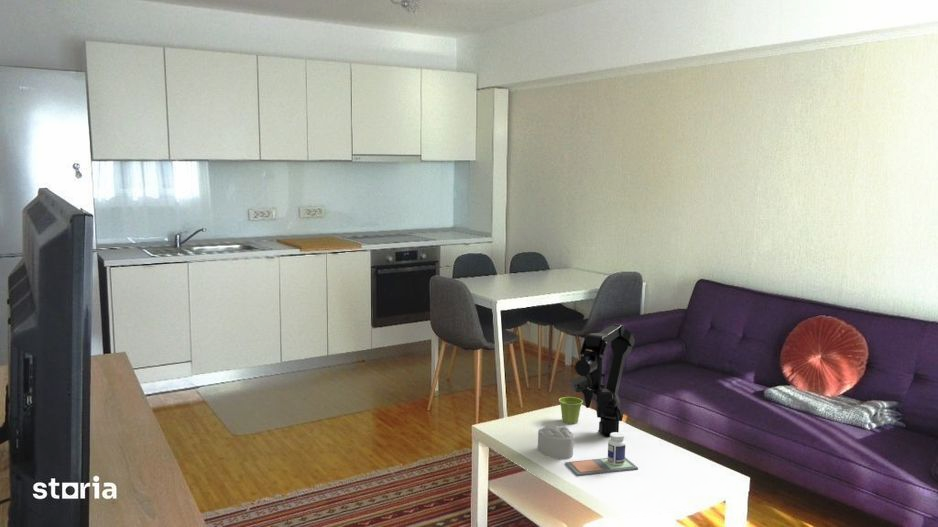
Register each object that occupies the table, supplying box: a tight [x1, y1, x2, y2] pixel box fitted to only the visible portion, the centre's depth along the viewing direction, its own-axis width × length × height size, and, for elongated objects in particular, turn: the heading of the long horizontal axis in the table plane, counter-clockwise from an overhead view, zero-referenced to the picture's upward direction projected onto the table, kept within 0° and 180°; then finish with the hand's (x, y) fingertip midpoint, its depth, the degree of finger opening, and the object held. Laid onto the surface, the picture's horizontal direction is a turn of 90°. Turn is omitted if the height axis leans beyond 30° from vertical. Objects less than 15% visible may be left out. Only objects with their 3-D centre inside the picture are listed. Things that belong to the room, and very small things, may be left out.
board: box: [564, 456, 639, 477], centre depth 240 cm, size 22×10×1 cm, turn 106°
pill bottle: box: [607, 432, 626, 465], centre depth 241 cm, size 6×6×10 cm
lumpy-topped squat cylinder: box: [537, 424, 574, 460], centre depth 251 cm, size 10×13×9 cm
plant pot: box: [558, 396, 584, 425], centre depth 282 cm, size 9×9×9 cm
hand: (592, 411), depth 256 cm, fingers open, 9 cm apart
